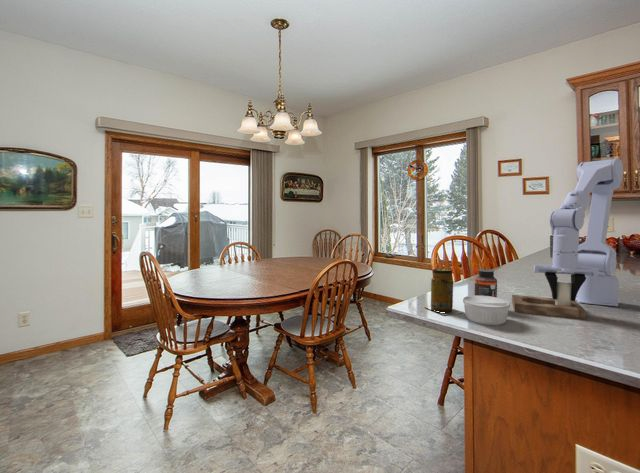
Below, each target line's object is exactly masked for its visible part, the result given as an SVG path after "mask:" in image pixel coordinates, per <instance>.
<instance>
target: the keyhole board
mask: <svg viewBox="0 0 640 473" xmlns="http://www.w3.org/2000/svg"><path fill="white" fill-rule="evenodd" d="M511 306H512V308H513V311H514V312H516V313H521V314H522V313H524V314H532V315H541V316H550V317H551V316H552V317H560V318H570V319H578V320H580V319H581V320H586V310H585V308H583V307H582V306H581V305H580V304H579V302H578V301H577V300H575V301H572V300H571V306H563V305H555V299H553V298H552V297H542V296H540V297H539V296H532V295H531V296H530V295H519V294H511Z"/></svg>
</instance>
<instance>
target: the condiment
mask: <svg viewBox="0 0 640 473" xmlns="http://www.w3.org/2000/svg"><path fill="white" fill-rule="evenodd" d="M430 281H431V282H430V293H431V294H430V307H431V309H432V310H435V311H433V312H435V313H437V312H436V311H439V313H438V314H440V315H442V316H450V315H458V314H465V311H464V312H463V311H461V310H458V309H455V308H453V307H454V306H453V305H454V280H453V270H452V269H449V268H441V267H438V268H437V267H436V268H434V269H433V270H432V278H431V280H430ZM440 312H445V313H440Z"/></svg>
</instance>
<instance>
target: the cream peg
mask: <svg viewBox="0 0 640 473" xmlns="http://www.w3.org/2000/svg"><path fill="white" fill-rule="evenodd" d="M571 292H572V283H571V282H567V281H557V299H555V305H563V306H571Z"/></svg>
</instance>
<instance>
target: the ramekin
mask: <svg viewBox="0 0 640 473" xmlns="http://www.w3.org/2000/svg"><path fill="white" fill-rule="evenodd" d="M462 303H463V304H464V307H463V308H464V314H465V317H466V318H467V320H469V321H471V322H473V323H476V324H479V325H486V326H500V325H504V324H505V323H506V321H507V319H508V314H509V310H510V308H511V302H509V301H508V300H506V299H504V298H501V297H498V296H497V297H491V296H478V295H476V296H475V295H467V296H465V297H464V298H463V299H462Z"/></svg>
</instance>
